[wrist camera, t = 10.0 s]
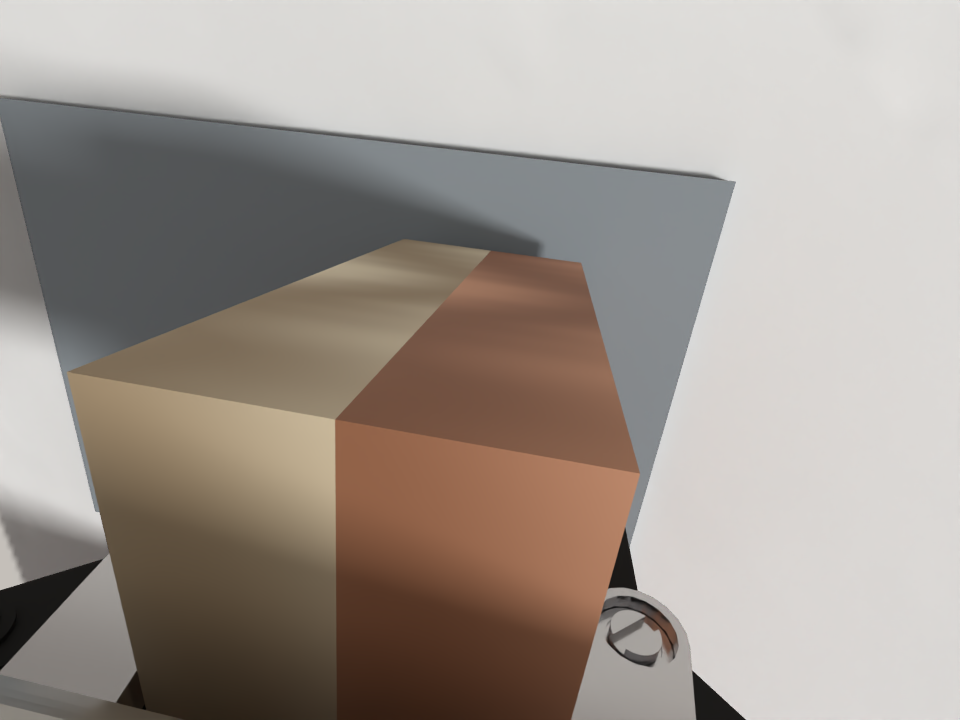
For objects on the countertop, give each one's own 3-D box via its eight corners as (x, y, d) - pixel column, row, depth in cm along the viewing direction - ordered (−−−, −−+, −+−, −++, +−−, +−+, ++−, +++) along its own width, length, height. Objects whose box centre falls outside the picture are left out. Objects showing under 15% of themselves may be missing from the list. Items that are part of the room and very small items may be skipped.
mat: (729, 181, 11) (735, 181, 10) (607, 607, 15) (608, 618, 15) (12, 99, 12) (-5, 97, 12) (105, 504, 17) (95, 511, 17)
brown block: (581, 262, 10) (640, 473, 3) (522, 574, 14) (481, 1038, 6) (404, 238, 11) (66, 371, 3) (389, 546, 14) (203, 953, 7)
